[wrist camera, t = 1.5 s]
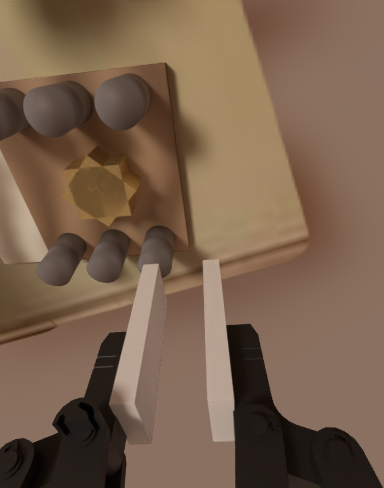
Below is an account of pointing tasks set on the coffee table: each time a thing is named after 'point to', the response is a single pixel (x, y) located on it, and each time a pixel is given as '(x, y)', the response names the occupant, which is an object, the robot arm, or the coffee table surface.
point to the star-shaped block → (101, 186)
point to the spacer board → (79, 146)
